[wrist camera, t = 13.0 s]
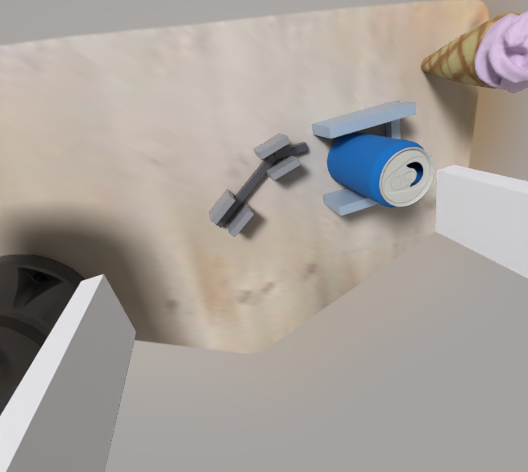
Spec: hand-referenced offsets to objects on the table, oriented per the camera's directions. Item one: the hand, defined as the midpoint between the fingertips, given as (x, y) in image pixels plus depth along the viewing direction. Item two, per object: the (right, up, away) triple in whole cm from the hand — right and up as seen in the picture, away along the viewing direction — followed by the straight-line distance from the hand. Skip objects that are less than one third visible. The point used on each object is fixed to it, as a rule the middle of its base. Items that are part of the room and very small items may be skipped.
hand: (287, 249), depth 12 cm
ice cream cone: (+19, +21, +25) cm, 38 cm away
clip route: (-2, +7, +26) cm, 27 cm away
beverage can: (+10, +11, +28) cm, 31 cm away
